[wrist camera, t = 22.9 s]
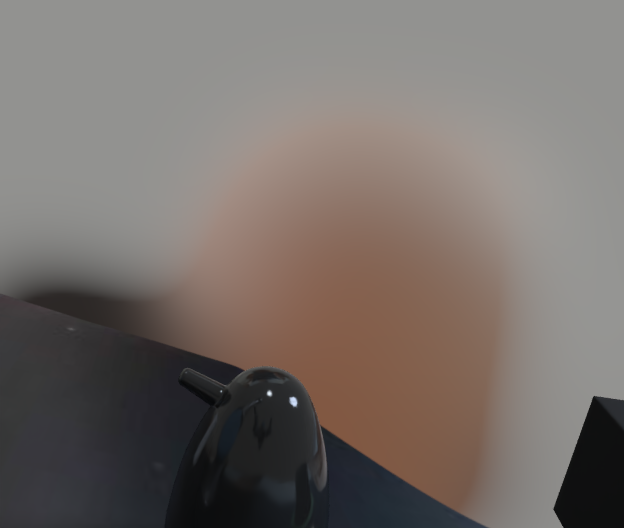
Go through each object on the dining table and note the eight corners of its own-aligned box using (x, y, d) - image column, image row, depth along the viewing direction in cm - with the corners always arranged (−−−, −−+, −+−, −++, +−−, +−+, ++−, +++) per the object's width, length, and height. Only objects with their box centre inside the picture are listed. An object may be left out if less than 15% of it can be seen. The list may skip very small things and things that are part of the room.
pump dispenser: (181, 508, 44) (203, 321, 39) (319, 534, 43) (358, 349, 39) (131, 631, 34) (152, 401, 29) (309, 665, 34) (358, 439, 29)
